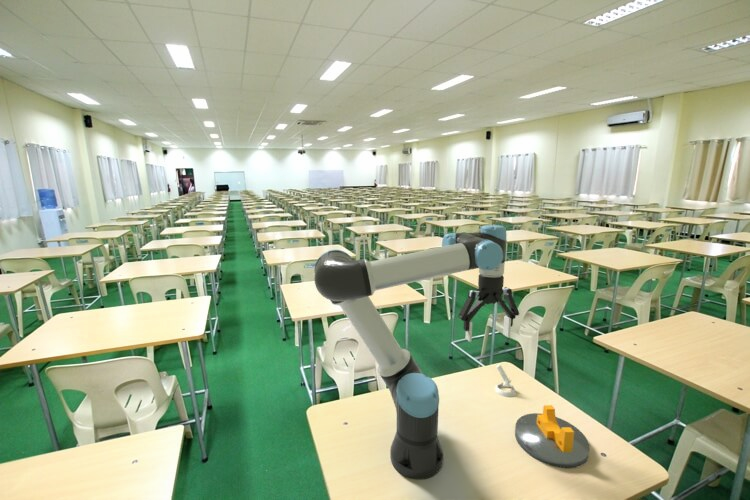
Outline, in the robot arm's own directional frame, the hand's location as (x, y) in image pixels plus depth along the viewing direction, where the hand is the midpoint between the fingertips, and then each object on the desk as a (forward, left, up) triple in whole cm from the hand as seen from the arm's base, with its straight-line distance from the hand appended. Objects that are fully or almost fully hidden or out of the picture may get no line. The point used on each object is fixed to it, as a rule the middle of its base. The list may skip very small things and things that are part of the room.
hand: (487, 338), depth 111 cm
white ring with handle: (+16, +12, -29) cm, 35 cm away
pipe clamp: (+14, -16, -26) cm, 34 cm away
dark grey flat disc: (+14, -15, -29) cm, 35 cm away
